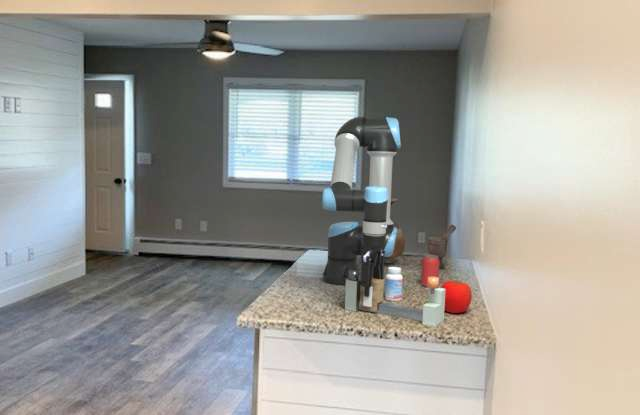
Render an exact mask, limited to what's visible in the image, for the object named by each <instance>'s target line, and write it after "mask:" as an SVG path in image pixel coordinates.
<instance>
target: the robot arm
mask: <svg viewBox="0 0 640 415" xmlns="http://www.w3.org/2000/svg"><path fill="white" fill-rule="evenodd" d="M400 134H401V132H400V123H399V120H398V119H397V118H395V117H388V116H386V117H385V116H377V117H376V116H356V117H353V118H351V119H349V120H347V121H346V122H344V123H343V125H341V127H340V128H339V129H338V131H337V132H336V134H335V138H334V142H333V144H334V147H335V153H334V159H333V160H334V161H333V166H332V167H333V168H332V173H331V179H330V185H329V187H328V188H324V189H323V191H322V196H321V203H322V204H321V205H322V208H323V210H325V211H330V212H331V211H332V212H359V213H363V220H362V226H361V225H359V222H358V221H342V222H335V223H333V224H331V225H330V226H329V228H328V235H327V239H328V240H327V241H328V242H327V262H326V265H325V267H324V270H323V273H322V281H323V282H324V283H327V284H332V285H342V286H343V285H345V286H346V280H347V279H349V270H359V276H361V286H364V297H363V306H368V307H372V287H371V284H372V278H375V279H382V280H384V275H385V273H384V272H385V263H384V257H390V256H391V255H392V254H393V250H394V245H395V240H396V233H397V228H395V227H393V226H394V223H393V222H392V221H393V220H392V221H391V219H392V218H391V219H390V216H391V208H390V206H391V207H392V205H391V198H392V179H393V178H392V177H393V158H394V157H395V155H397V154H398V153H397V152H398V149H401V147H402V145H401V135H400ZM359 148H366V153H367V155H369V157H370V159H369V160H370V162H369V182H368V183H369V185H368V186H365V187H364V189H353V182H354V181H353V180H354V172H355V166H356V165H355V163H356V156H357V155H356V154H357V151H358V150H359ZM358 256H360V257H361V258H360V259H361V270H360V268H359V265H358ZM360 271H361V273H360Z"/></svg>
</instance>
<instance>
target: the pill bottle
mask: <svg viewBox="0 0 640 415" xmlns="http://www.w3.org/2000/svg"><path fill="white" fill-rule="evenodd" d="M387 272H388V273H387V274H386V275H385V280H384V281H385V282H384V284H385V285H384V299H385V300H386V301H392V302H400V301H402V299H403V281H404V278H403V275H402V274H401V273H402V268H401V267H398V266H389V267H387Z"/></svg>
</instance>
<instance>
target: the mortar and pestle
mask: <svg viewBox="0 0 640 415" xmlns="http://www.w3.org/2000/svg"><path fill="white" fill-rule="evenodd" d="M456 229H457V226H455V225H454V224H450V225H449V226H448V228H447V229H446V231H445V233H444V234H443V235H442V237H440V236H439V237H437V236H430V237H428V243H427V249H428V254H430V255H437V256H438V258H439V269H444V268H445V263H444V262H443V258H445V257H446V253H447V250H448V244H449V243H448V241H449V239H448V238H449V237H450V236H451V235H453V233H454V232H455V231H456Z"/></svg>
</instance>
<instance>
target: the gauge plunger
mask: <svg viewBox="0 0 640 415" xmlns="http://www.w3.org/2000/svg"><path fill="white" fill-rule="evenodd" d="M439 281H440V277H439V278H438V277H433V276H430V277H428V282H427V287H426V288H429V289H431V294H435V289H437V288H440V287H439V284H440V282H439Z"/></svg>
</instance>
